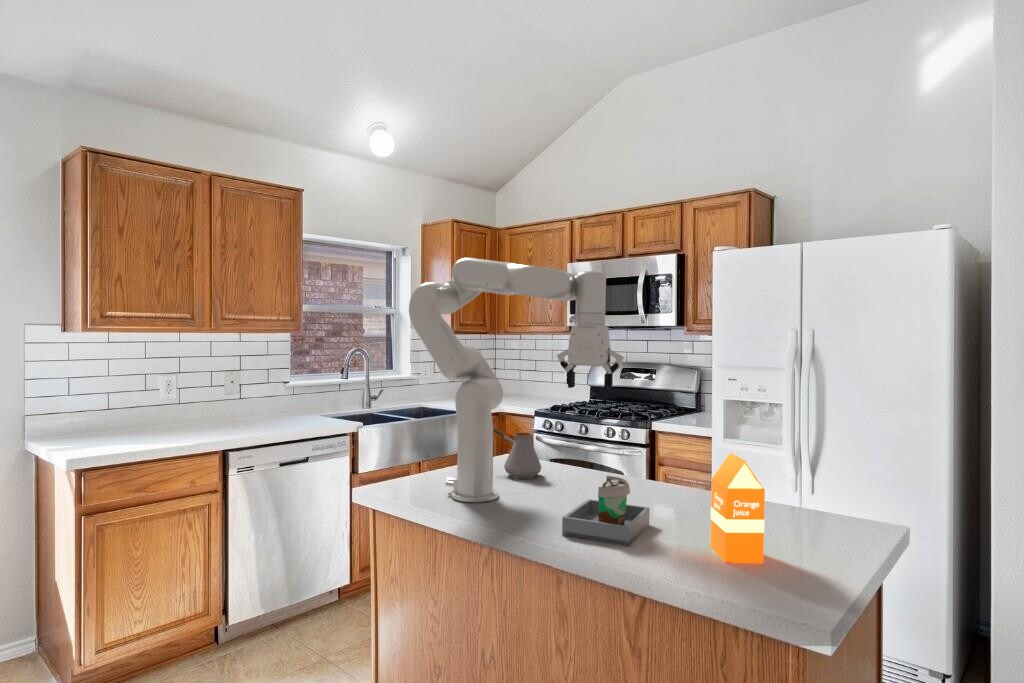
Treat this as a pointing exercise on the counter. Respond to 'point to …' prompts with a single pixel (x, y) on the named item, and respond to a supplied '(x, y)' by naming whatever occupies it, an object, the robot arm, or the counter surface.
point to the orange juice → (737, 513)
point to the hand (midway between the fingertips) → (589, 388)
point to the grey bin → (605, 524)
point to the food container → (613, 500)
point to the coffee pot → (521, 456)
